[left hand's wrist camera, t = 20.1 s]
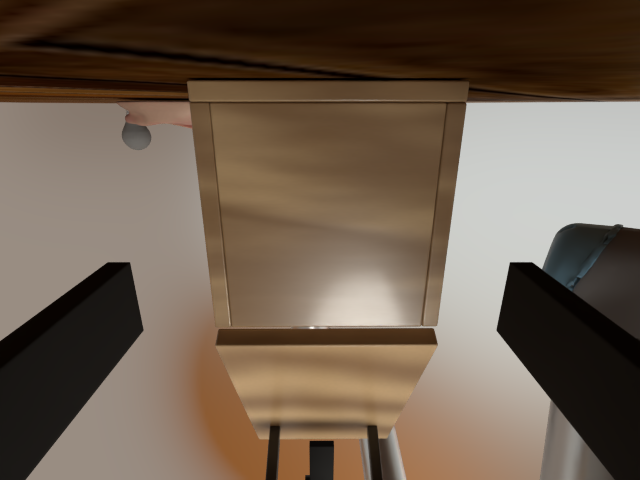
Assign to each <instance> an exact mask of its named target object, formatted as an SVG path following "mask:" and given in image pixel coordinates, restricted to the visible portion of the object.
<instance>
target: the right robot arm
mask: <svg viewBox="0 0 640 480" xmlns="http://www.w3.org/2000/svg"><path fill="white" fill-rule="evenodd" d="M291 329H330V328H329V327H292V328H291ZM359 441H360V449H361V457H362V464H363V471H364V479H365V480H371V475H370V463H369V451H368V439H359ZM379 447H380V457H381V467H382V476H383V480H406V475H405V471H404V466H403V462H402V457H401V453H400V448H399V443H398V439H397V434H396V430H395V425H394V426H393V428H392V430H391V432H390V434H389V436H388V437H387V438H379ZM333 465H334V441H310V475H306V476H305V480H333Z"/></svg>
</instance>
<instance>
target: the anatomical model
mask: <svg viewBox="0 0 640 480" xmlns="http://www.w3.org/2000/svg"><path fill="white" fill-rule="evenodd" d="M190 102H191V101H118V102H117V104H118V105H120V106H121V107H123V108H124V109H126V110H128V111H129V114H127V115H126V117H125V120H126V122H127V123H131V124H137V125H141V126H150V125H156V124H165V123H167V124H173V125H178V126H183V127H187V128H192V121H191V113H190Z"/></svg>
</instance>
